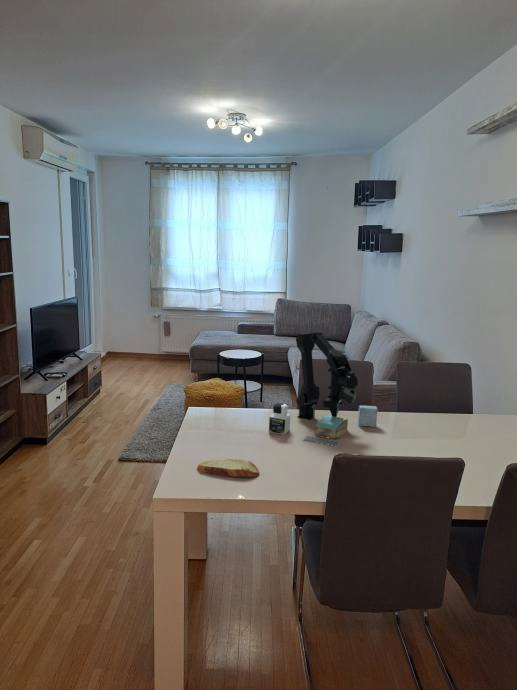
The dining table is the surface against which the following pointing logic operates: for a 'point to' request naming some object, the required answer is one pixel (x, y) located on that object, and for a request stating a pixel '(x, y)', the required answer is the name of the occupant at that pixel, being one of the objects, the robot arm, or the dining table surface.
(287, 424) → the medicine bottle
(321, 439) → the grey mat
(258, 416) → the dining table surface
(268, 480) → the dining table surface
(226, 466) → the slice of bread
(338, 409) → the robot arm
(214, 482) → the dining table surface
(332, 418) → the cover plate
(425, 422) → the dining table surface
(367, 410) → the medicine box
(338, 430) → the wooden box
